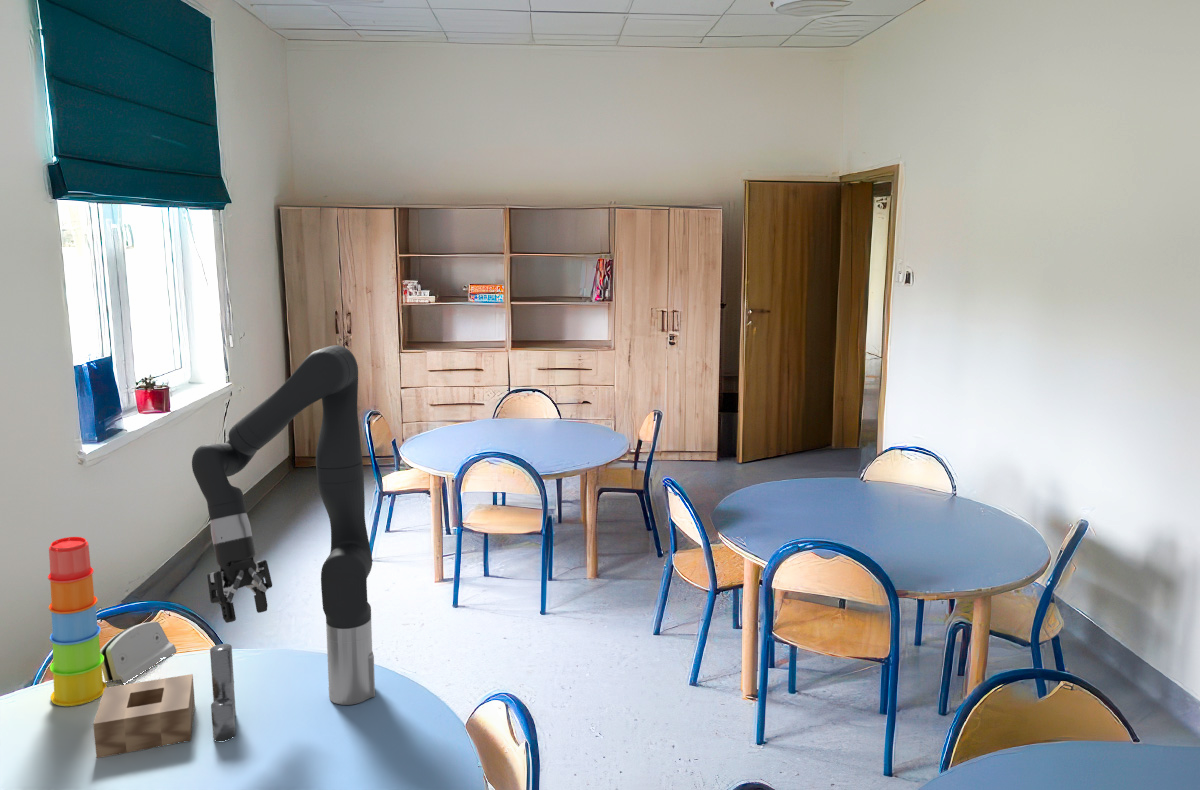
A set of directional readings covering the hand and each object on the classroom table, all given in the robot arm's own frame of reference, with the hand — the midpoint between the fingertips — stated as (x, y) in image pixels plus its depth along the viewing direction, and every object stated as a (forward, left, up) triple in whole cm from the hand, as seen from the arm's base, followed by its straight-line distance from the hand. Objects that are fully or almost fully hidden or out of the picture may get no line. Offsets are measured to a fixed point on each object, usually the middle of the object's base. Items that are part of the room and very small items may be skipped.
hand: (247, 616), depth 173 cm
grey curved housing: (+24, -29, -21) cm, 43 cm away
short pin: (+5, +9, -21) cm, 23 cm away
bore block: (+19, +1, -20) cm, 28 cm away
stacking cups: (+34, -19, -21) cm, 44 cm away
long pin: (+5, +1, -21) cm, 21 cm away
